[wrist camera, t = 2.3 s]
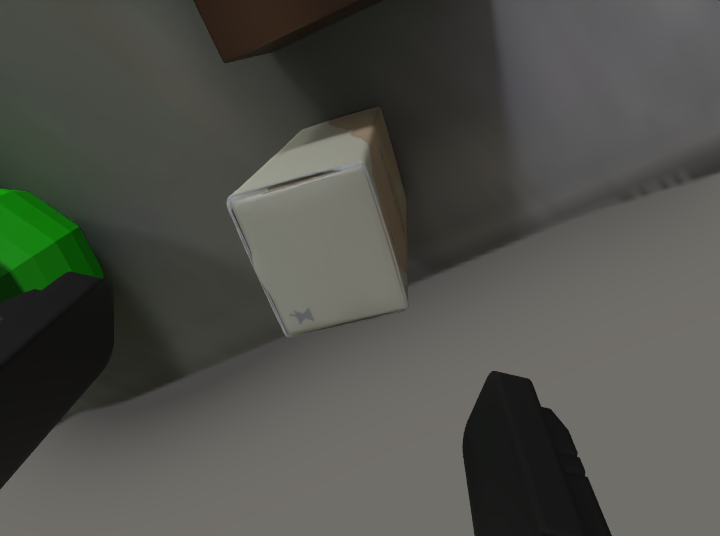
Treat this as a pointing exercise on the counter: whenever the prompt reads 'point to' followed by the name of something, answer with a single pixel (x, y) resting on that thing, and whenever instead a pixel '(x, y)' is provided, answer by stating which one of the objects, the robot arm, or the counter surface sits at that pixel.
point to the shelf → (269, 22)
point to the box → (328, 226)
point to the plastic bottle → (38, 245)
